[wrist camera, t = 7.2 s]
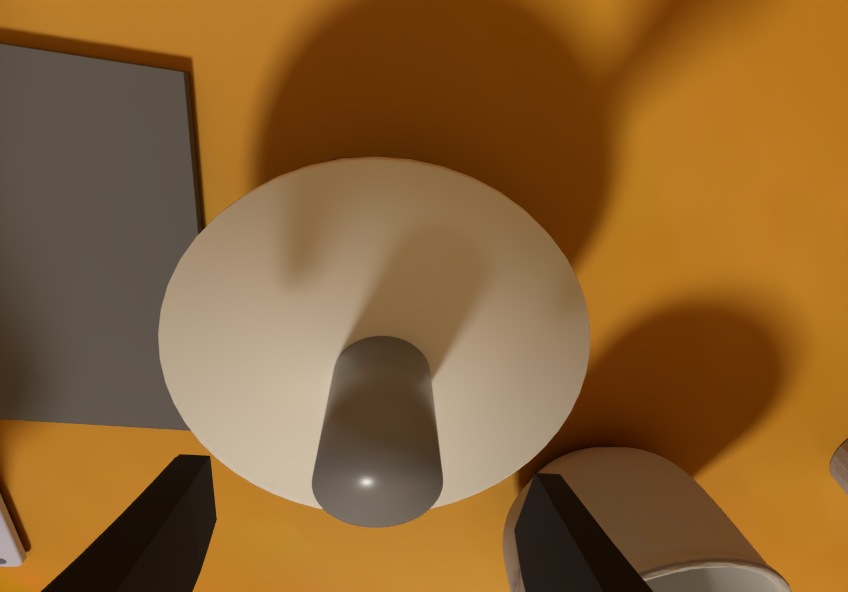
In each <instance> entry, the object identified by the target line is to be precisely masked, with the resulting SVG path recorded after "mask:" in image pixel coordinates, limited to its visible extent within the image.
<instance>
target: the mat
mask: <svg viewBox="0 0 848 592" xmlns="http://www.w3.org/2000/svg"><path fill="white" fill-rule="evenodd" d="M201 232H202V220H201V208H200V197H199V185H198V174H197V162H196V151H195V139H194V128H193V116H192V105H191V93H190V81H189V72H185V71H179V70H172V69H166V68H159V67H153V66H146V65H140V64H133V63H127V62H120V61H114V60H107V59H101V58H94V57H88V56H81V55H75V54H68V53H62V52H55V51H49V50H42V49H36V48H29V47H23V46H16V45H10V44H3V43H0V419H8V420H24V421H41V422H57V423H74V424H91V425H107V426H124V427H141V428H157V429H174V430H190V428H189V427H188V426H187V425H186V423H185V422H184V420H183V418H182V416H181V415H180V413H179V411H178V410H177V408H176V406H175V405H174V402H173V400H172V398H171V395H170V393H169V390H168V388H167V385H166V383H165V379H164V375H163V371H162V366H161V362H160V355H159V340H158V331H159V321H160V312H161V307H162V303H163V300H164V296H165V293H166V289H167V286H168V283H169V281H170V279H171V277H172V275H173V273H174V271H175V269H176V267H177V265H178V263H179V261H180V259H181V258H182V256H183V255H184V253H185V252H186V251H187V249H188V248H189V246H190V245H191V244H192V242H193V241H194V239H195V238H196V237H197V236H198V235H199V234H200V233H201Z"/></svg>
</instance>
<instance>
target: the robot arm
mask: <svg viewBox="0 0 848 592" xmlns="http://www.w3.org/2000/svg"><path fill="white" fill-rule="evenodd" d="M216 520H217V518H216V508H215V499H214V489H213V479H212V470H211V460H210V456H202V455H183V454H180V455H178V456H177V457H175V458H174V459H173V460H172V462H171V463H170V464H169V465H168V466H167V467H166V468H165V469H164V470H163V471H162V472H161V473H160V474H159V475H158V477H157V478H156V479H155V480H154V481H153V482H152V483H151V484H150V485H149V486H148V487H147V488H146V489H145V490H144V491H143V492H142V493H141V495H140V496H139V497H138V498H137V499H136V500H135V501H134V502H133V503H132V504H131V505H130V506H129V507H128V508H127V509H126V510H125V511H124V512H123V513H122V514H121V515H120V516H119V517H118V518H117V519H116V520H115V521H114V522H113V523H112V524H111V525H110V526H109V527H108V528H107V529H106V530H105V531H104V532H103V533H102V534H101V535H100V536H99V537H98V538H97V539H96V540H95V541H94V542H93V543H92V544H91V545H90V546H89V547H88V548H87V549H86V550H85V551H84V552H83V553H82V554H81V555H80V556H79V557H78V558H77V559H75V560H74V561H73V562H72V563H71V564H70V565H69V566H68V567H67V568H66V569H65V570H64V571H63V572H61V573H60V574H59V575H58V576H57V577H56V578H55V579H54V580H53V581H52V582H51V583H50V584H48V585H47V586H46V587H45V588H44V589H43V590H42V591H41V592H192V591H193V589H194V586H195V584H196V581H197V579H198V576H199V574H200V572H201V569H202V565H203V562H204V559H205V556H206V553H207V550H208V546H209V543H210V540H211V536H212V533H213V530H214V526H215V523H216ZM514 533H515V539H516V546H517V552H518V559H519V564H520V570H521V576H522V580H523V584H524V588H525V592H653V590H652V589H651V588H650V587H649V586H648V585H647V583H646V582H645V581H644V580H643V579H642V577H641V576H640V575H639V574H638V573H637V571H636V570H635V569H634V568H633V566H632V565H631V564H630V563H629V562H628V560H627V559H626V558H625V557H624V555H623V554H622V553H621V552H620V550H619V549H618V548H617V547H616V546H615V544H614V543H613V542H612V541H611V539H610V538H609V537H608V535H607V534H606V533H605V532H604V530H603V529H602V528H601V526H600V525H599V524H598V523H597V521H596V520H595V519H594V517H593V516H592V515H591V514H590V512H589V511H588V510H587V508H586V507H585V506H584V504H583V503H582V502H581V501H580V499H579V498H578V497H577V495H576V494H575V493H574V491H573V490H572V489H571V488H570V486H569V485H568V484H567V482H566V481H565V480H564V479H563V477H562V476H561V475H560V474H549V473H535V474H534V477H533V480H532V482H531V485H530V488H529V490H528V493H527V496H526V499H525V501H524V504H523V507H522V510H521V512H520V515H519V518H518V520H517V523H516V526H515V529H514ZM26 558H27V555H26V553H25V550H24V548H23V546H22V543H21V541H20V539H19V536H18V534H17V532H16V529H15V527H14V525H13V522H12V520H11V517H10V515H9V513H8V510H7V508H6V506H5V503H4V501H3V499H2V496H1V494H0V566H8V567H15V566H19V565H21V564H22V563H23V562H24V560H25V559H26Z"/></svg>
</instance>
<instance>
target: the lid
mask: <svg viewBox="0 0 848 592" xmlns="http://www.w3.org/2000/svg"><path fill="white" fill-rule="evenodd" d="M158 340H159V355H160V362H161V366H162V371H163V375H164V379H165V383H166V385H167V388H168V390H169V393H170V395H171V398H172V400H173V402H174V405H175V406H176V408H177V410H178V411H179V413H180V415H181V416H182V418H183V420H184V422H185V423H186V425H187V426H188V427H189V428H190V430H191V431H192V432H193V434H194V435H195V436H196V437H197V439H198V440H199V441H200V442H201V443H202V444H203V445H204V446H205V447H206V448H207V449H208V450H209V451H210V452H211V453H212V454H213V455H214V456H215V457H216V458H217V459H218V460H219V461H221V462H222V463H223V464H225V465H226V466H227V467H228V468H230V469H231V470H232V471H234V472H235V473H236V474H238V475H240V476H241V477H243V478H245V479H246V480H248V481H249V482H251V483H253V484H254V485H256V486H258V487H260V488H262V489H265V490H267V491H269V492H271V493H273V494H275V495H277V496H280V497H283V498H286V499H288V500H291V501H294V502H296V503H300V504H304V505H307V506H311V507H315V508H319V509H324V510H325V511H326V512H327V513H329V514H330V515H332V516H333V517H335V518H337V519H339V520H341V521H343V522H346V523H349V524H352V525H356V526H362V527H372V528H378V527H390V526H395V525H399V524H403V523H406V522H409V521H411V520H413V519H415V518H418V517H419V516H421V515H422V514H424V513H425V512H426V511H428V510H429V509H432V508H435V507H439V506H443V505H447V504H450V503H454V502H456V501H459V500H462V499H465V498H467V497H470V496H473V495H475V494H477V493H479V492H481V491H483V490H486V489H488V488H490V487H492V486H494V485H495V484H497V483H499V482H500V481H502V480H504V479H505V478H507V477H509V476H510V475H512V474H513V473H515V472H516V471H517V470H519V469H520V468H521V467H523V466H524V465H525V464H527V463H528V462H529V461H530V460H531V459H533V458H534V457H535V456H536V455H537V454H538V453H539V452H540V451H541V450H542V449H543V448H544V447H545V446H546V445H547V444H548V443H549V441H550V440H551V439H552V438H553V437H554V436H555V434H556V433H557V432H558V431H559V429H560V428H561V426H562V425H563V423H564V422H565V420H566V419H567V417H568V416H569V414H570V412H571V411H572V408H573V406H574V404H575V402H576V400H577V398H578V396H579V394H580V391H581V388H582V385H583V381H584V378H585V375H586V372H587V365H588V359H589V352H590V324H589V318H588V312H587V306H586V302H585V299H584V296H583V293H582V290H581V287H580V284H579V281H578V279H577V277H576V275H575V273H574V271H573V269H572V267H571V265H570V263H569V262H568V260H567V258H566V256H565V255H564V254H563V252H562V251H561V250H560V248H559V247H558V246H557V244H556V243H555V242H554V240H553V239H552V238H551V236H550V235H549V234H548V233H547V232H546V231H545V229H544V228H543V227H542V226H541V225H540V224H539V223H538V222H537V221H535V220H534V219H533V218H532V217H531V216H530V215H529V214H528V213H527V212H526V211H525V210H524V209H523V208H522V207H521V206H519V205H518V204H516V203H515V202H514V201H512V200H511V199H510V198H508V197H507V196H505V195H504V194H503V193H501V192H500V191H498V190H496V189H494V188H493V187H491V186H489V185H487V184H485V183H483V182H481V181H479V180H477V179H475V178H474V177H472V176H469V175H466V174H463V173H460V172H458V171H455V170H452V169H449V168H446V167H444V166H441V165H436V164H431V163H426V162H422V161H417V160H412V159H404V158H390V157H377V156H375V157H358V158H342V159H337V160H332V161H327V162H322V163H317V164H312V165H308V166H305V167H302V168H299V169H297V170H294V171H291V172H288V173H285V174H282V175H279V176H277V177H275V178H273V179H271V180H270V181H268V182H266V183H264V184H262V185H260V186H258V187H256V188H254V189H252V190H250V191H249V192H248V193H246V194H245V195H244V196H242V197H241V198H239V199H238V200H237V201H235V202H234V203H233V204H231V205H230V206H228V207H227V208H226V209H225V210H223V211H222V212H221V213H220V214H219V215H218V216H217V217H216V218H215V219H214V220H213V221H212V222H211V223H210V224H209V225H208V226H207V227H206V228H205V229H204V230H203V231H202V232H201V233H200V234H199V235H198V236H197V237H196V238H195V239H194V241H193V242H192V244H191V245H190V246H189V248H188V249H187V251H186V252H185V253H184V255H183V256H182V258H181V259H180V261H179V263H178V265H177V267H176V269H175V271H174V273H173V275H172V277H171V279H170V281H169V283H168V286H167V289H166V293H165V296H164V300H163V303H162V307H161V312H160V321H159V331H158Z"/></svg>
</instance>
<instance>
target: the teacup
mask: <svg viewBox="0 0 848 592" xmlns="http://www.w3.org/2000/svg"><path fill="white" fill-rule="evenodd" d="M538 473H549V474H560V475H561V476H562V477H563V479H564V480H565V481H566V482H567V484H568V485H569V486H570V488H571V489H572V490H573V491H574V493H575V494H576V495H577V497H578V498H579V499H580V501H581V502H582V503H583V504H584V506H585V507H586V508H587V510H588V511H589V512H590V514H591V515H592V516H593V517H594V519H595V520H596V521H597V523H598V524H599V525H600V526H601V528H602V529H603V530H604V532H605V533H606V534H607V535H608V537H609V538H610V539H611V541H612V542H613V543H614V544H615V546H616V547H617V548H618V549H619V550H620V552H621V553H622V554H623V555H624V557H625V558H626V559H627V560H628V562H629V563H630V564H631V565H632V566H633V568H634V569H635V570H636V571H637V573H638V574H639V575H640V576H641V577H642V579H643V580H644V581H645V582H646V583H647V585H648V586H649V587H650V588H651V589H652V590H653V592H792V591H791V589H790V587H789V584H788V583H787V582H786V580H785V579H784V578H783V577H782V576H781V575H780V574H779V573H778V572H777V571H776V570H774V569H773V568H771V567H770V566H769V565H767V564H766V562H765V561H764V560H763V559H762V557H761V556H760V555H759V554H758V553H757V551H756V550H755V549H754V548H753V547H752V545H751V544H750V543H749V542H748V541H747V539H746V538H745V537H744V536H743V534H742V533H741V532H740V531H739V530H738V528H737V527H736V526H735V525H734V524H733V522H732V521H731V520H730V519H729V518H728V517H727V515H726V514H725V513H724V512H723V511H722V509H721V508H720V507H719V506H718V505H717V504H716V503H715V502H714V500H713V499H712V498H711V497H710V496H709V495H708V494H707V493H706V491H705V490H704V489H703V488H702V487H701V486H700V485H699V484H698V483H697V482H696V481H695V480H694V479H693V478H692V477H691V476H690V475H688V474H687V473H686V472H685V471H684V470H682V469H681V468H680V467H678V466H677V465H676V464H674V463H673V462H671V461H669V460H668V459H666V458H664V457H662V456H659V455H657V454H655V453H652V452H649V451H645V450H641V449H636V448H630V447H593V448H586V449H581V450H577V451H573V452H571V453H568V454H565V455H563V456H561V457H559V458H557V459H555V460H553V461H552V462H550V463H549V464H547V465H546V466H545V467H543V468H542V469H541V470H540V471H539V472H538ZM532 480H533V478H532V479H531V480H530V481H529V483H528V484H527V485H526V486H525V487H524V488H523V490H522V491H521V492H520V494H519V495H518V496H517V498H516V499H515V501H514V503H513V504H512V506H511V508H510V510H509V513H508V515H507V519H506V523H505V527H504V533H503V553H504V561H505V567H506V572H507V577H508V582H509V586H510V591H511V592H525V588H524V584H523V580H522V576H521V570H520V564H519V559H518V552H517V546H516V539H515V533H514V529H515V526H516V523H517V520H518V518H519V515H520V512H521V510H522V507H523V504H524V501H525V499H526V496H527V493H528V490H529V488H530V485H531V482H532Z"/></svg>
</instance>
